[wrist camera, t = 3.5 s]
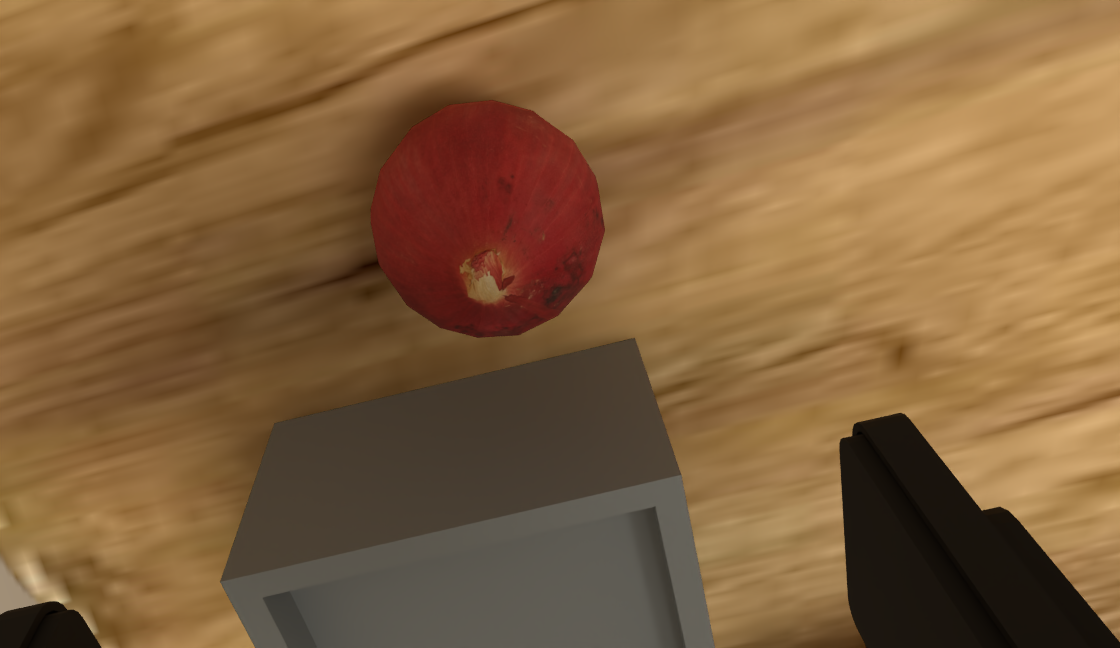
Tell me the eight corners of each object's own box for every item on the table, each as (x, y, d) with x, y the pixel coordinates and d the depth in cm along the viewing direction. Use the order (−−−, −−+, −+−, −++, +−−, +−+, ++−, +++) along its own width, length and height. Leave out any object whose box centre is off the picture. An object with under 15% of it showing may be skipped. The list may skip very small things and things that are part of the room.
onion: (626, 158, 26) (684, 268, 19) (505, 301, 28) (517, 451, 21) (464, 29, 24) (461, 101, 17) (344, 192, 26) (299, 319, 19)
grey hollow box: (688, 600, 35) (739, 774, 28) (387, 669, 35) (367, 857, 29) (633, 334, 29) (681, 474, 23) (275, 419, 30) (220, 581, 23)
